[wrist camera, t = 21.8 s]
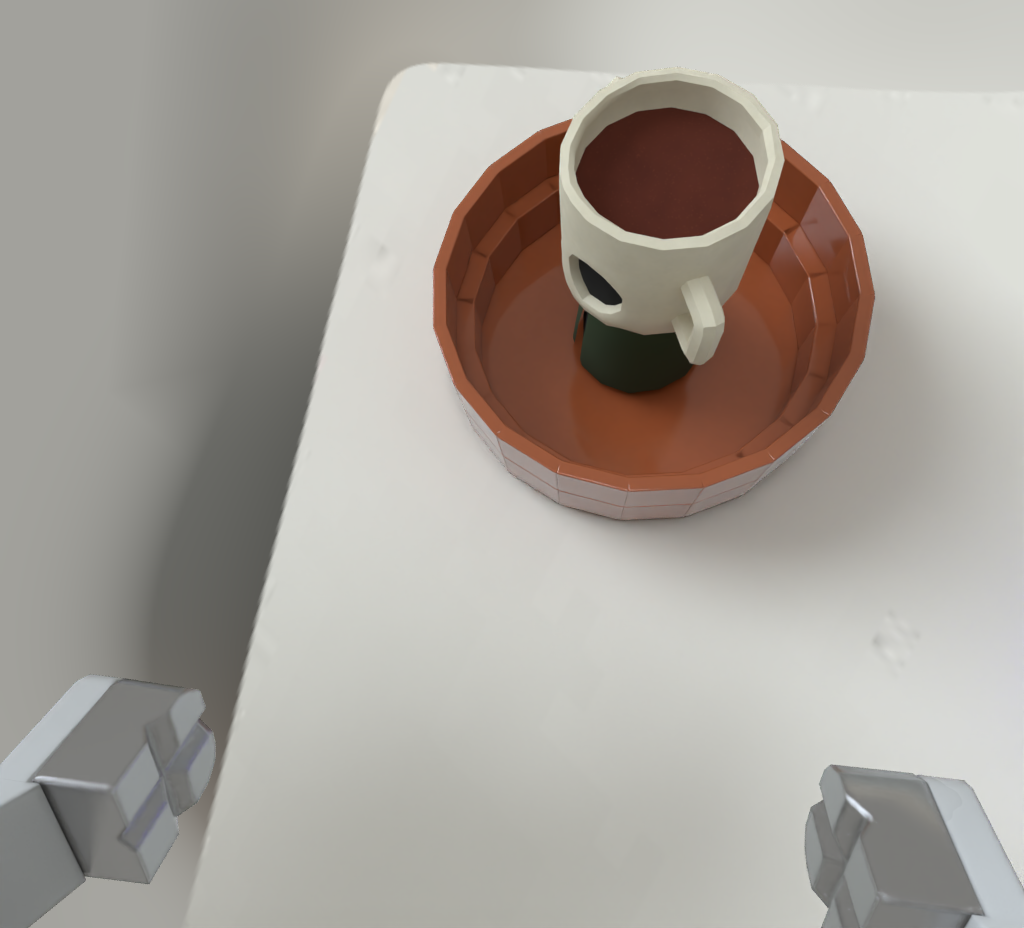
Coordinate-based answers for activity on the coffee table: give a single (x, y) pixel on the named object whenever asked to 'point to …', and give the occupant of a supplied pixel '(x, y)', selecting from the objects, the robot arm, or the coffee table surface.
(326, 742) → the coffee table surface
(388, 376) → the coffee table surface
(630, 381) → the character mug
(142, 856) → the robot arm
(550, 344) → the bowl
